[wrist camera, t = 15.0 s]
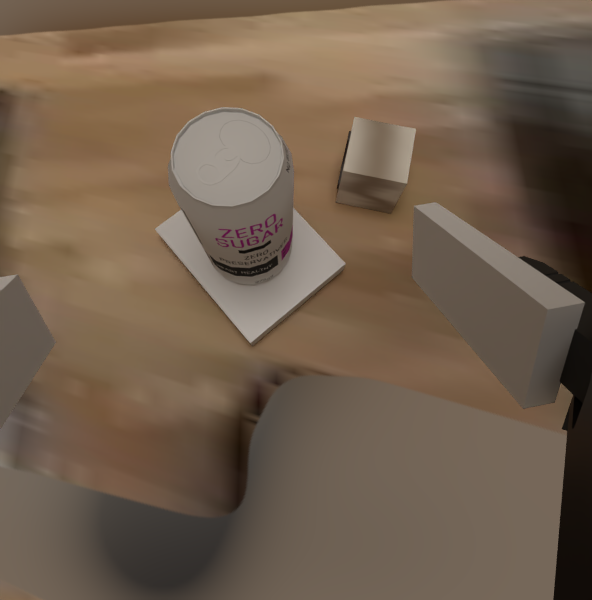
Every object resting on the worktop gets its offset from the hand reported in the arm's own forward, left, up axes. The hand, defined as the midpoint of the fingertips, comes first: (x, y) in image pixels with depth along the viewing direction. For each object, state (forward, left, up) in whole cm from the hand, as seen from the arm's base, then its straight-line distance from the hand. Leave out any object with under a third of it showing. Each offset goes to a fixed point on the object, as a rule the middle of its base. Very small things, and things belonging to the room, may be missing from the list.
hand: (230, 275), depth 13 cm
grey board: (+9, -5, -26) cm, 28 cm away
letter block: (+7, -20, -26) cm, 34 cm away
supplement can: (+9, -6, -24) cm, 26 cm away
